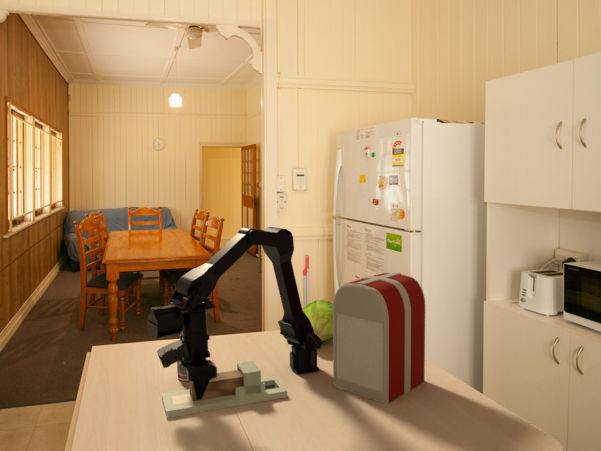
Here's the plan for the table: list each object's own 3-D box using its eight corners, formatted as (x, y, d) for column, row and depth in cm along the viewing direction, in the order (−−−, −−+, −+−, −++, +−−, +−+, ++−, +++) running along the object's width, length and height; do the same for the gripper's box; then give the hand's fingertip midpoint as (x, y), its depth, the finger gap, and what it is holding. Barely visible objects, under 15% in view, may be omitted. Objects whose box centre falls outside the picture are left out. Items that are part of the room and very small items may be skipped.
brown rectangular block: (239, 385, 130) (238, 368, 129) (243, 392, 125) (243, 375, 125) (189, 393, 126) (188, 376, 125) (192, 401, 121) (191, 383, 121)
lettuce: (291, 352, 157) (290, 313, 156) (304, 328, 179) (303, 294, 178) (335, 354, 155) (334, 315, 153) (342, 330, 177) (342, 295, 176)
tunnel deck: (274, 381, 136) (274, 355, 135) (287, 397, 126) (287, 369, 126) (161, 399, 126) (160, 371, 125) (166, 417, 117) (165, 388, 116)
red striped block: (426, 381, 135) (427, 276, 132) (387, 404, 122) (387, 288, 119) (372, 365, 146) (372, 268, 143) (331, 385, 133) (330, 278, 130)
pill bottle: (194, 382, 136) (193, 344, 135) (174, 381, 137) (172, 343, 136) (203, 373, 141) (202, 337, 140) (183, 372, 143) (181, 336, 141)
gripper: (154, 322, 128) (157, 385, 130) (163, 347, 111) (166, 418, 112) (201, 317, 132) (203, 378, 134) (216, 340, 115) (218, 409, 116)
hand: (197, 395), depth 124 cm, fingers closed on brown rectangular block, 4 cm apart
